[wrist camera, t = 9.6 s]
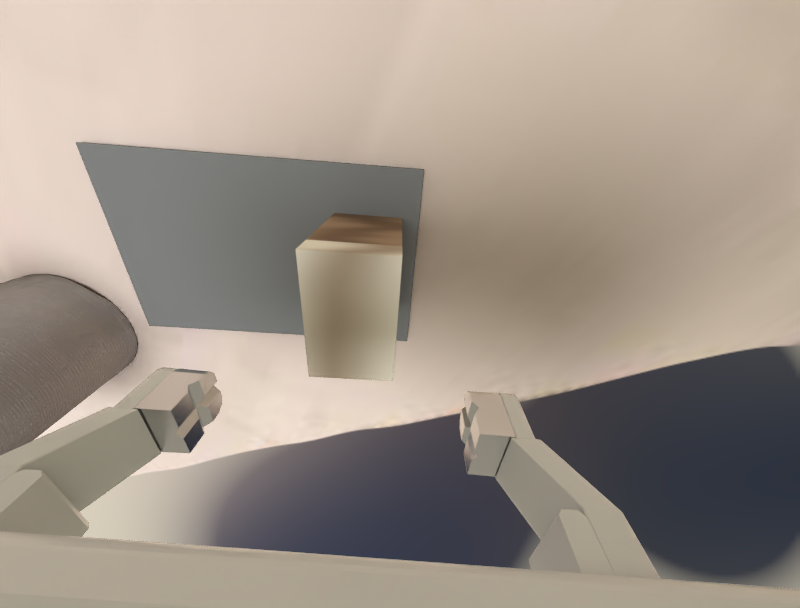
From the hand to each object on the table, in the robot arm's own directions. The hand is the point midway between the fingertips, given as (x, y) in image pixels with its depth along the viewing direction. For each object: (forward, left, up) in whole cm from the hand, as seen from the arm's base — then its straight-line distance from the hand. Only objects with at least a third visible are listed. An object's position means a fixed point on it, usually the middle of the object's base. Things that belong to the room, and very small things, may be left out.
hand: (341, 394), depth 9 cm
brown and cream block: (0, 0, -13) cm, 13 cm away
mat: (+8, 0, -13) cm, 15 cm away
